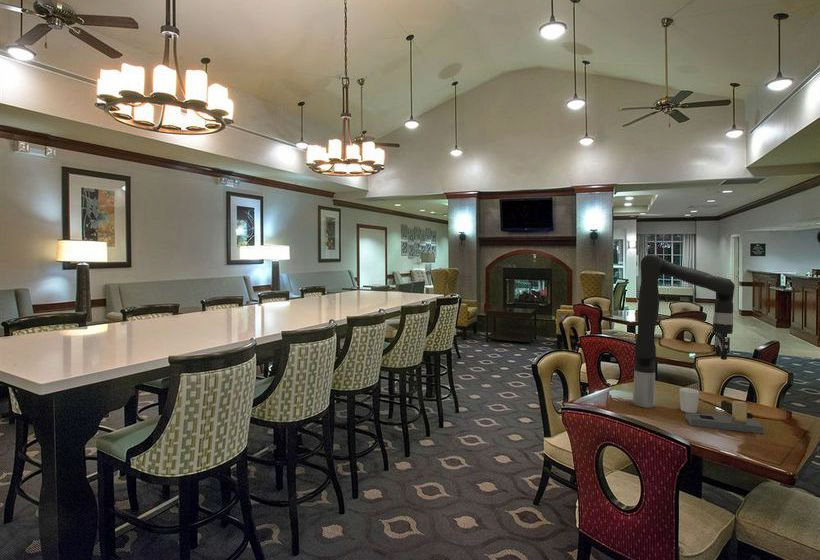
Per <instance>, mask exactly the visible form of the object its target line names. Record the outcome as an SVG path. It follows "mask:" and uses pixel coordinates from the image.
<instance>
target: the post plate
mask: <svg viewBox="0 0 820 560" xmlns="http://www.w3.org/2000/svg"><path fill="white" fill-rule="evenodd" d="M685 420H686V421H687V422H688V424H689V425H690V427H696V428H697V427H699V428H708V429H715V430H725V431H733V432H735V431H736V432H744V433H751V432H753V433H752V434H760V433H761V434H763V435H764V426H763V425H762V424H761V423H760V422H758V421H757V420H756V419H755V418H752V419H749V418H747V420H746V423H743V422H735V421H734V420H733V419H732V416H729V415H721V414H720V415H718V414H711V413H710V414H707V413H698V412H696V413H691V412H685ZM761 434H760V435H761Z"/></svg>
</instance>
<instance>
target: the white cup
mask: <svg viewBox="0 0 820 560" xmlns="http://www.w3.org/2000/svg"><path fill="white" fill-rule="evenodd" d="M699 396H700V391H699V390H697V389H694V388H689V387H688V388H687V387H682V388H679V402H680V403H679V404H680V410H681V411H682V412H685V413H686V412H691V413H698V405H699V399H700V397H699Z"/></svg>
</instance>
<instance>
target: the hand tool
mask: <svg viewBox="0 0 820 560" xmlns="http://www.w3.org/2000/svg"><path fill="white" fill-rule="evenodd" d="M732 403H733V402H732ZM732 403H731V402H729V401H727V400H722V401H721V402H720V407H721V409H722V411H725V412H726V411H728V413H731V414H732ZM747 418H749V419H754V415H753V414H752V413H750V412H747Z"/></svg>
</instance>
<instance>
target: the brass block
mask: <svg viewBox="0 0 820 560" xmlns="http://www.w3.org/2000/svg"><path fill="white" fill-rule="evenodd" d="M747 409H748V404H747V403H746V402H744V401H741V400H732V413H731V417H732V419H733V420H734V421H735V422H743V423H746V420H747V413H748V410H747Z"/></svg>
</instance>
